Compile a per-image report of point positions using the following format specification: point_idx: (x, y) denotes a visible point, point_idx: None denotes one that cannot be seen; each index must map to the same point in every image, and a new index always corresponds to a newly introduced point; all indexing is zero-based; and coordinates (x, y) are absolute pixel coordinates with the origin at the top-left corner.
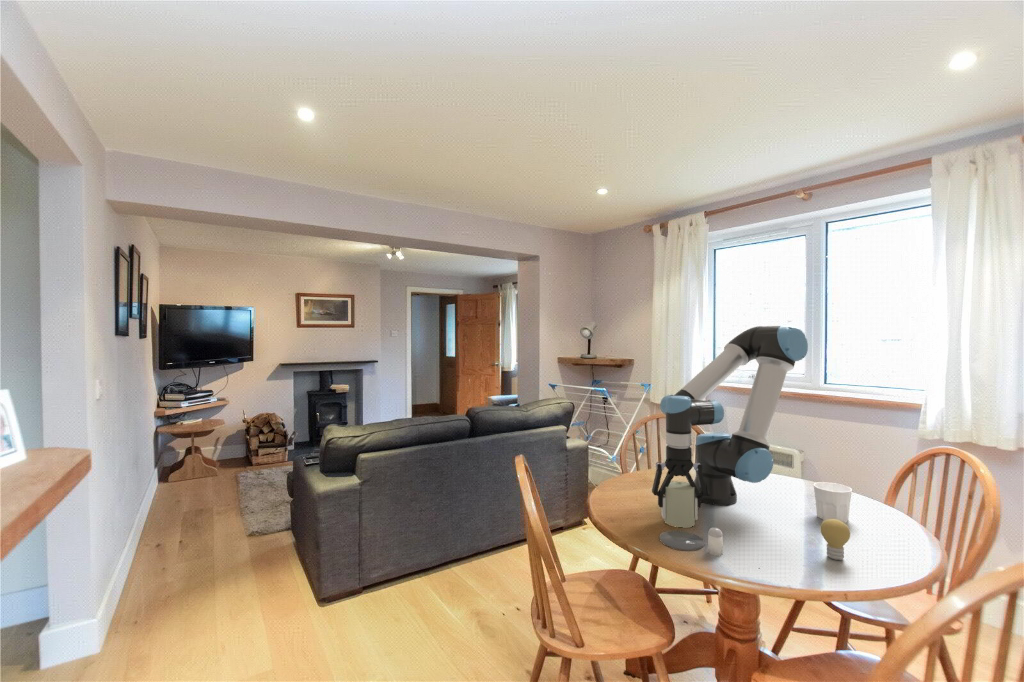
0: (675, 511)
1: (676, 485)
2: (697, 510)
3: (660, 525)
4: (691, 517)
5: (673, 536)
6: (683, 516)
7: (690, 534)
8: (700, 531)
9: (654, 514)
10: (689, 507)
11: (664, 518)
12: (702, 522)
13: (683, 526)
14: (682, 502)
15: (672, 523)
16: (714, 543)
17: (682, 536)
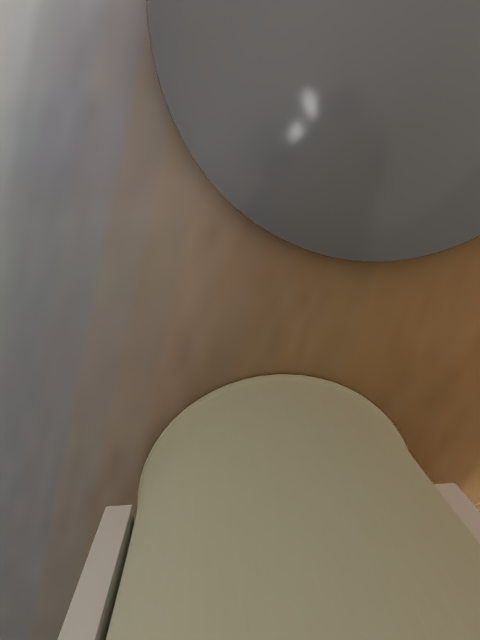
0: (407, 487)
1: None
2: (75, 591)
3: (470, 410)
4: (181, 465)
5: (465, 85)
6: (291, 435)
7: (260, 161)
8: (124, 310)
9: None
10: (205, 551)
11: (446, 484)
12: (63, 519)
13: (275, 381)
14: (367, 603)
15: (377, 414)
16: None
17: (365, 93)
